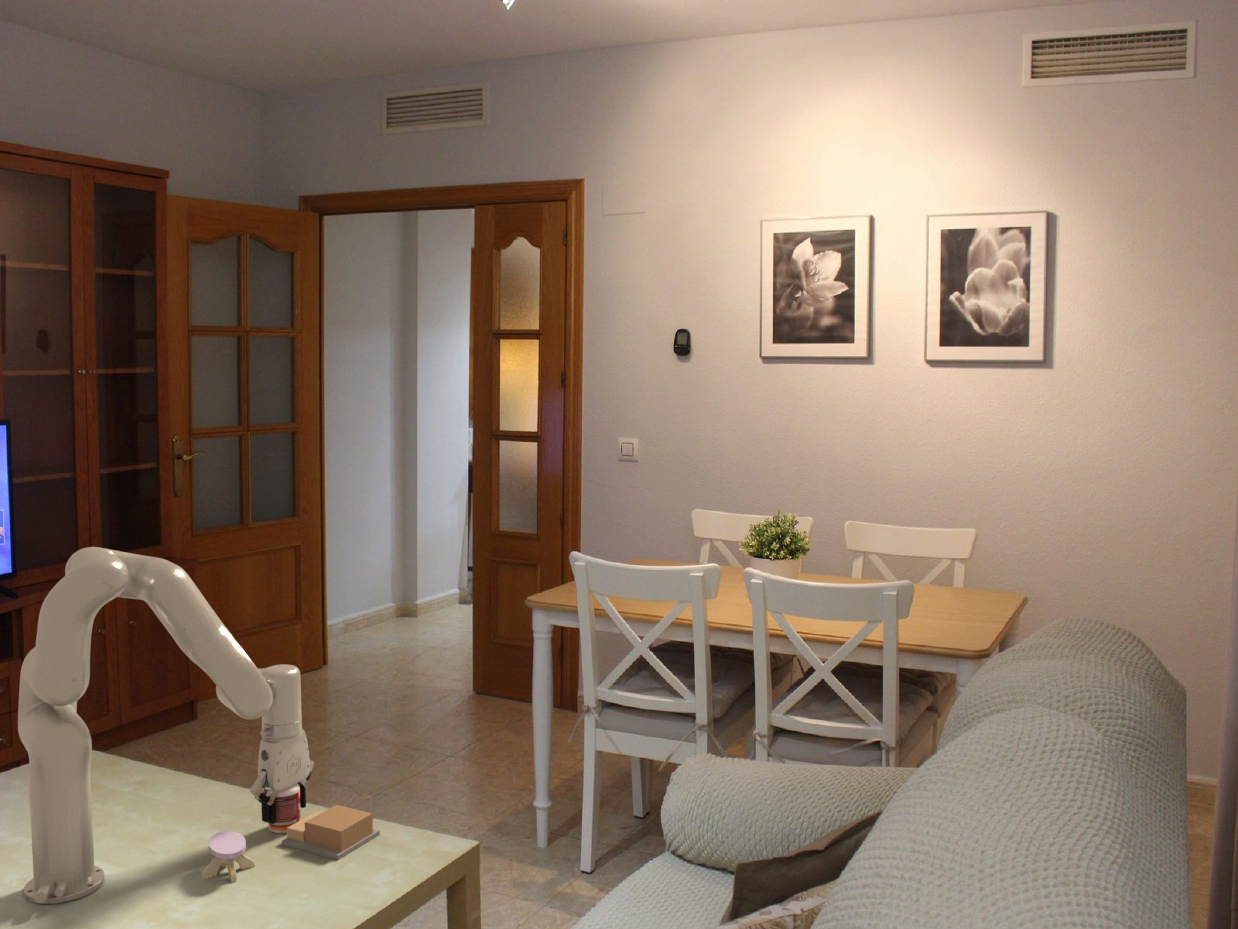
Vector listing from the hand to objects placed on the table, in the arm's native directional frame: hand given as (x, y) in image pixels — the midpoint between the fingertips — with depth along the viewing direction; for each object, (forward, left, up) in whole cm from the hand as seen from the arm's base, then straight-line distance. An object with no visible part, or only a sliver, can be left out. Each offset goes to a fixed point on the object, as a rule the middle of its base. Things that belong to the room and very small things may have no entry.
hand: (284, 813), depth 211 cm
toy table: (-17, +8, -3) cm, 19 cm away
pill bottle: (0, 0, -3) cm, 3 cm away
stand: (-8, -9, -3) cm, 12 cm away
